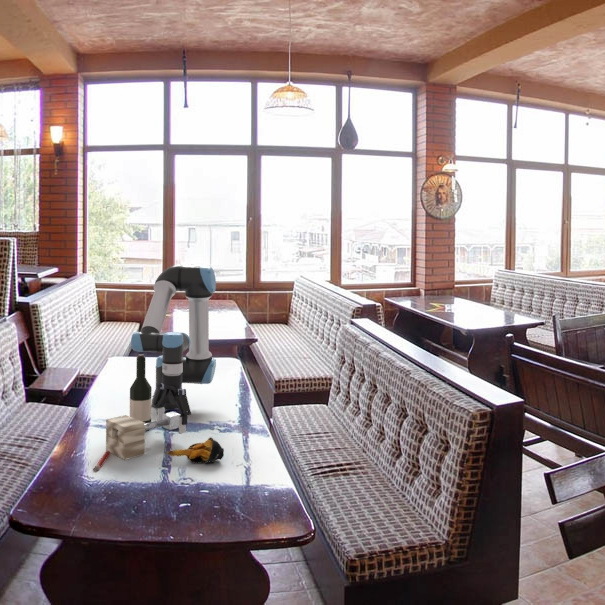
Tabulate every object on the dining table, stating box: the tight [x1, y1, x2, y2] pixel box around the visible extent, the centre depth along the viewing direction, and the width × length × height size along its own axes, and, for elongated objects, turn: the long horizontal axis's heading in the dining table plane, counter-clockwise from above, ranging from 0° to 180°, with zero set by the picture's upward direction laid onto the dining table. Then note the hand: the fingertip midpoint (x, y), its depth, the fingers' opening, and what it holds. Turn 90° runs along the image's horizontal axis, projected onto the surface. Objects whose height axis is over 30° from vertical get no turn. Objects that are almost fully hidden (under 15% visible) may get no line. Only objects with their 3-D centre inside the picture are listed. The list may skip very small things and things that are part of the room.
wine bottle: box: [129, 353, 153, 432], centre depth 246 cm, size 8×8×30 cm
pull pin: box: [116, 411, 180, 437], centre depth 227 cm, size 5×26×5 cm, turn 138°
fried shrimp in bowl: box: [166, 437, 225, 464], centre depth 213 cm, size 9×11×18 cm
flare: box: [92, 450, 111, 472], centre depth 211 cm, size 2×15×2 cm, turn 3°
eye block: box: [105, 414, 146, 461], centre depth 220 cm, size 12×9×12 cm
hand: (171, 428), depth 235 cm, fingers open, 13 cm apart
